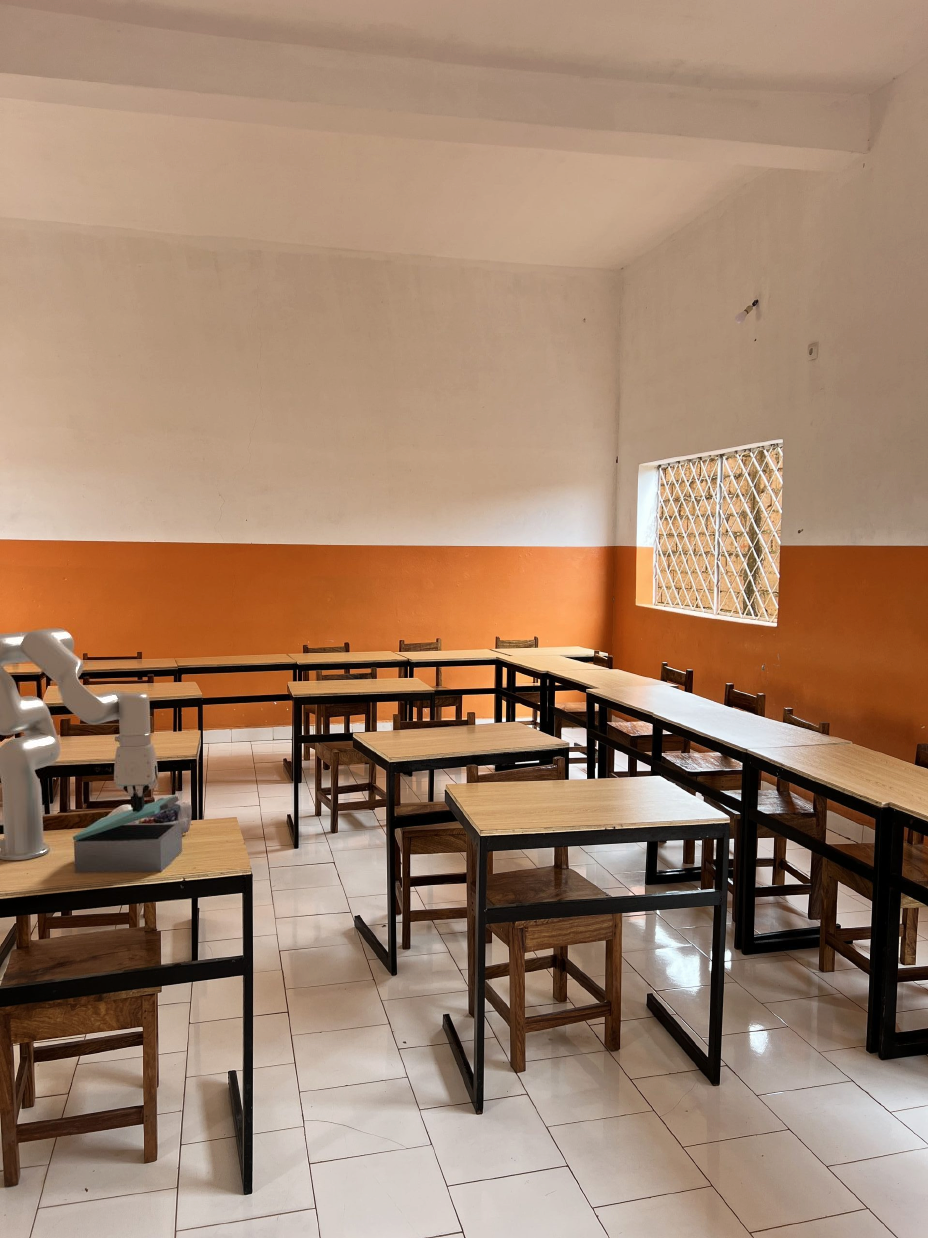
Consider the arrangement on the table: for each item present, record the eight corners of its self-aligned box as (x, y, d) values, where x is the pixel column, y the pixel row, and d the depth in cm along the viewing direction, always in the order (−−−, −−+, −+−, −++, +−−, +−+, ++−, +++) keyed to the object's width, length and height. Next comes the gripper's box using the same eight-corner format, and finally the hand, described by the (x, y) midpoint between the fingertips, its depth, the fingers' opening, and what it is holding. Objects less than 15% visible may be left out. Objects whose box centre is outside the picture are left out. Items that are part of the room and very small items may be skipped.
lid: (73, 841, 228) (72, 836, 228) (100, 823, 244) (98, 819, 244) (163, 812, 227) (161, 807, 227) (183, 796, 243) (182, 792, 243)
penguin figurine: (128, 807, 259) (89, 810, 260) (132, 836, 259) (93, 839, 260) (139, 801, 265) (100, 805, 266) (142, 830, 265) (104, 833, 267)
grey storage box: (74, 872, 229) (73, 841, 228) (101, 853, 245) (100, 824, 244) (161, 872, 228) (160, 840, 228) (182, 852, 244) (181, 823, 244)
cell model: (196, 796, 262) (146, 815, 243) (198, 833, 262) (147, 854, 244) (161, 792, 267) (109, 810, 249) (163, 828, 268) (111, 849, 250)
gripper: (100, 743, 231) (103, 814, 232) (158, 743, 231) (161, 814, 232) (112, 738, 239) (115, 807, 239) (168, 737, 238) (171, 806, 239)
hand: (137, 810), depth 236 cm, fingers closed
